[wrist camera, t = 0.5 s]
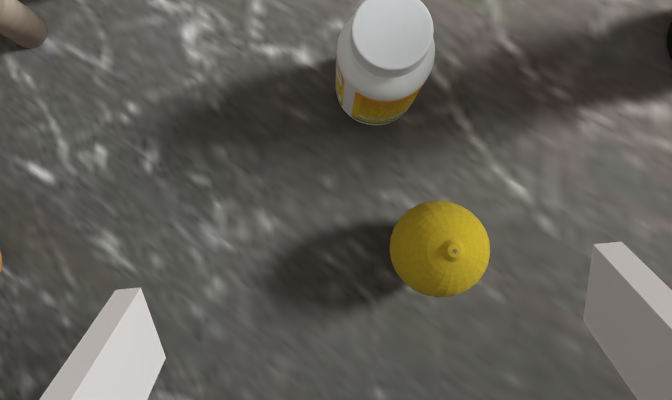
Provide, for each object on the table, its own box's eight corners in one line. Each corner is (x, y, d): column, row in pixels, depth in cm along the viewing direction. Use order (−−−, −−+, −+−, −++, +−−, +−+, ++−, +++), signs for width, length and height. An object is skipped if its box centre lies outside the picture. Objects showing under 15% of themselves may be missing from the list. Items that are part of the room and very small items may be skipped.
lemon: (372, 272, 32) (384, 285, 24) (399, 194, 32) (420, 180, 24) (451, 300, 32) (490, 322, 24) (477, 221, 32) (524, 216, 24)
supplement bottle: (319, 85, 33) (313, 23, 23) (377, 34, 33) (395, -48, 23) (372, 144, 32) (388, 105, 23) (431, 92, 33) (470, 32, 23)
